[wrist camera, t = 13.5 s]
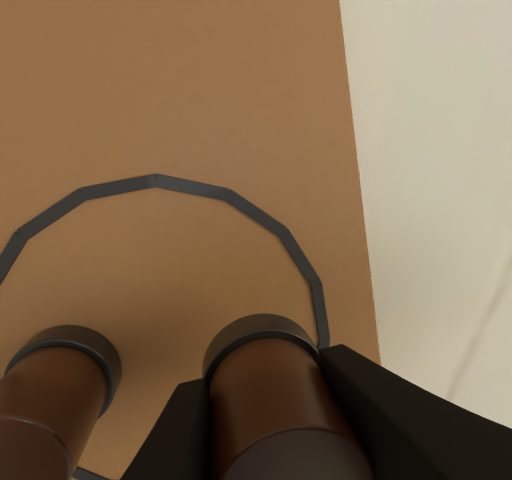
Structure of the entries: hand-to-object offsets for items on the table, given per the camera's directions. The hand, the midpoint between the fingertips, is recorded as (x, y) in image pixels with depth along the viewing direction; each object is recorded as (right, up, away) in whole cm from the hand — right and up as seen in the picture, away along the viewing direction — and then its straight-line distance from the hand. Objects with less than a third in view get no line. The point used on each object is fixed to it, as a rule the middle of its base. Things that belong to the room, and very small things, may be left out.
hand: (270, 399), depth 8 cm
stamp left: (-6, 0, +3) cm, 7 cm away
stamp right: (0, 0, +1) cm, 1 cm away
